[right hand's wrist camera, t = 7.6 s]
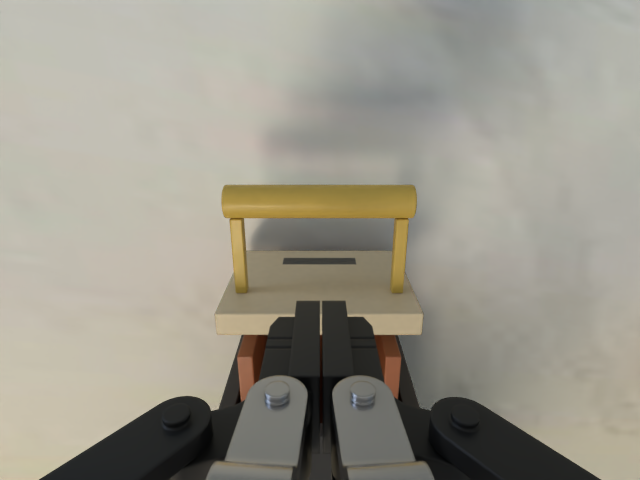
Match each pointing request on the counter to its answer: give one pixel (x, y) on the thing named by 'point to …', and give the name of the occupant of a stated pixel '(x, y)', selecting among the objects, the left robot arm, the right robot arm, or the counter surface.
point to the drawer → (318, 271)
